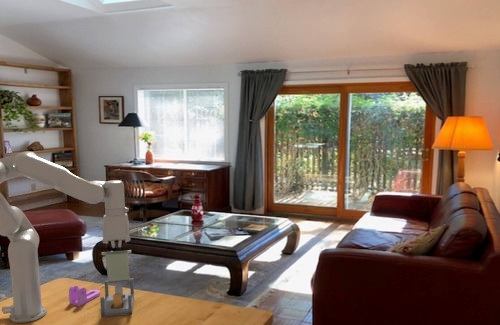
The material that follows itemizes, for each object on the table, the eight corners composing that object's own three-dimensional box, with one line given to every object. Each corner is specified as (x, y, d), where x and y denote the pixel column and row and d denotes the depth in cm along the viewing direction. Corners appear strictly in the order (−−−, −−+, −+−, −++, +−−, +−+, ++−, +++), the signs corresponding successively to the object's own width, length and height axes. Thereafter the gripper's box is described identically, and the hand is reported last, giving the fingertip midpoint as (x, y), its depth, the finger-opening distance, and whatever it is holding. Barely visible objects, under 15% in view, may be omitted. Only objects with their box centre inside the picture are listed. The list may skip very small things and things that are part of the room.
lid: (101, 253, 174) (101, 251, 174) (104, 284, 180) (105, 282, 180) (131, 251, 176) (131, 249, 177) (133, 281, 182) (133, 280, 183)
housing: (101, 317, 167) (100, 295, 166) (105, 300, 181) (104, 280, 180) (131, 313, 169) (131, 292, 168) (134, 297, 184) (133, 278, 182)
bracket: (80, 306, 176) (79, 289, 176) (69, 304, 179) (68, 287, 178) (103, 293, 188) (102, 278, 187) (93, 291, 190) (92, 276, 190)
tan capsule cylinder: (113, 310, 169) (112, 297, 169) (114, 307, 172) (113, 293, 172) (121, 309, 170) (120, 296, 169) (122, 306, 173) (121, 293, 172)
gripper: (135, 208, 181) (136, 252, 183) (96, 210, 178) (98, 254, 180) (134, 212, 174) (136, 257, 176) (94, 215, 171) (96, 261, 173)
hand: (117, 256), depth 178 cm, fingers closed
